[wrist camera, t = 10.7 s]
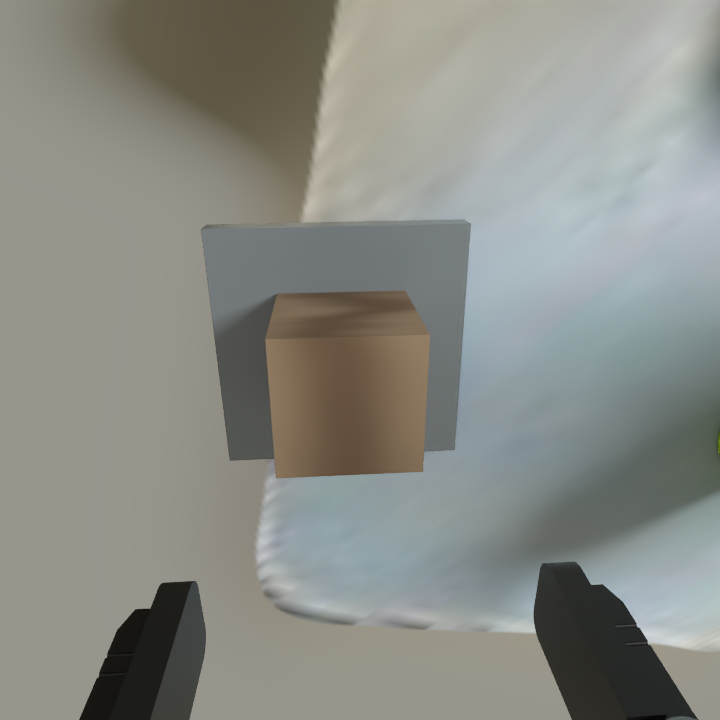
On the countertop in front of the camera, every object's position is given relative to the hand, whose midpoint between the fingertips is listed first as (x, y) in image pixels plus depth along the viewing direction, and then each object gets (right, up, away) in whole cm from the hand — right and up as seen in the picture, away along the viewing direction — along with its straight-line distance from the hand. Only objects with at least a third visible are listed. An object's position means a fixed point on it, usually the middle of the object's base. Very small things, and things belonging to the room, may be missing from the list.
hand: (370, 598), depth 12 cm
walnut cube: (-1, +6, +14) cm, 15 cm away
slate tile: (-1, +6, +15) cm, 16 cm away
